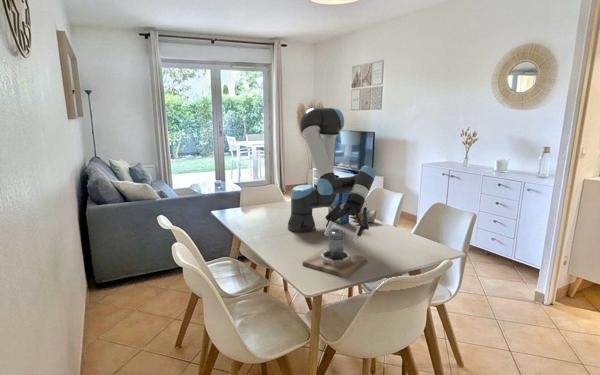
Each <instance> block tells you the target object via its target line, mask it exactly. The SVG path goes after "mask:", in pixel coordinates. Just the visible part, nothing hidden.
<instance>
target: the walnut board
mask: <svg viewBox="0 0 600 375" xmlns="http://www.w3.org/2000/svg"><path fill="white" fill-rule="evenodd" d="M325 250H328V247H325V248H323V249H321V250H319V251H318V252H316V253H315V254H313V255H311V256H309V257H308V258H306V259H304V260H303V261H302V266H304V267H305V266H306V267H307V268H308V267H309V268H312V269H315V270H319V271H321V272H326V273H329V274H333V275H335V276H339V277H342V278H348V276H349V275H351V274H352V273H354V272H355V271H356V270H357V269H359V267H361V266H362V265H363V264H364V263H365V264H366V262H367V261H368V257H366V256H362V255H358V254H356V253H350V252H348V253H349V255H350V256H351V261H350V262H349V263H347V264H346V265H337V266H333V265H329V264H326V263H323V262H322V260H321V258H320V254H321V253H322V252H324V251H325ZM325 258H328V255H327V256H326V257H325ZM345 258H346V257H344V256H343V259H345Z"/></svg>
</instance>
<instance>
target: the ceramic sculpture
mask: <svg viewBox="0 0 600 375" xmlns="http://www.w3.org/2000/svg"><path fill="white" fill-rule="evenodd" d="M377 212H378V211H377V210H371V211H370V210H369V209H368V214H367V217H368V223H374V222H375V221H376V220H375V219H376V218H377ZM358 214H359V216H360V219H361V222H362V224H364V217H363V212H362V211H361V212H360V213H358ZM349 219H353V220H352V221H353V223H355V224H359V223H358V220H357V218H356V215H355V216H349Z"/></svg>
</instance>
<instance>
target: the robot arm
mask: <svg viewBox="0 0 600 375" xmlns="http://www.w3.org/2000/svg"><path fill="white" fill-rule="evenodd" d="M344 117H345V116H344V114H343V113H342V111H341V110H340V109H339V108H333V107H312V108H308V109H307V110H306V111H305V112H304V113H302V116H301V118H300V121H299V127H300V128H299V129H300V133H301V135H302V137H304V138H305V141H306V144H307V147H308V149H309V153H310V156H311V158H312V162H313V164H314V168H315V170H316V173H317V175H316V177H317V178H316V181H314V182H313V185H311V184H301V185H297V186H294V187H293V188H292V189H291V192H290V193H291V194H290V217H289V220H288V221H287V222H288V223H287V230H289V231H291V232H295V233H311V232H312V231H315V230H316V223H315V219H314V216H313V209H319V208H329V207H330V206H334V205H335V204H336V203H337V201H338V198H339V194H340V193H347V194H349V196H348V199H347V202H346V204H342V203H341V202H339V203H338V205H337V206H336V207H335V208H334V209H333V210H332V211H331V212H330V213H329V214H328V213H327V215H325V219H326V221H327V223H326V225H325V230H324V233H323V234H324V236H326V237H328V238H329V231H330V230H332V228H333V226H334V223H335V222H334V221H336V220H337V219H339V218H340V217H342V216H345V215H349V216H350V217H353V216H356V218H357V220H358V223H357V224H358V225H359V226H358V227H357V228H356V231H355V233H354V236H353V238H352V243H353V244H357V242H358V239H359V237H362V235H363V233H364V230H366V231H369V230H370V228H369V222H368V217H367V214H368V210H369V209H368V208H367V206H364V205H365V203H366V199H367V197H368V195H369V193H370V190H371V188H372V186H373V183H374V181H375V178H376V175H377V171H376V170H375V168H373V167H371V166H369V165H363V166H361V167H360V169H359V171H358V173H356V174H354V175H351V176H347V177H346V176H344V177H336V174H335V171H334V167H335V166H334V165H335V154H336V152H335V151H336V141H337V140H336V138H337V137H338V136H339V135H340V131H342V130H343V128H344V126H345V118H344ZM343 207H344V208H343ZM341 209H342V210H341ZM340 210H341V211H340ZM339 211H340V212H339ZM344 211H345V212H344ZM361 211H362V212H363V217H364V223H362V222H361V219H360V216H359V214H358V213H360V212H361Z"/></svg>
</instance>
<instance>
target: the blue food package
mask: <svg viewBox="0 0 600 375" xmlns="http://www.w3.org/2000/svg"><path fill="white" fill-rule="evenodd" d="M348 196H349V194H347V193H340V194H339V198H338V201H337V203H336V204H335V205H334V206H330V207H328V213H327V215H328V214H329V213H330V212H331V211H332V210H333V209H334V208H335V207H336V206H337V205H338V203H339V202H341V203H342V204H346V202H347V199H348ZM343 208H344V207H343ZM341 210H342V209H341ZM341 210H340V211H341ZM340 211H339V212H340ZM344 212H345V211H344ZM349 222H350V215H345V216H342V217H340V218H339V219H337V220H336V221H334V222H333V223H336V224H341V225H343V224H349Z"/></svg>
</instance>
